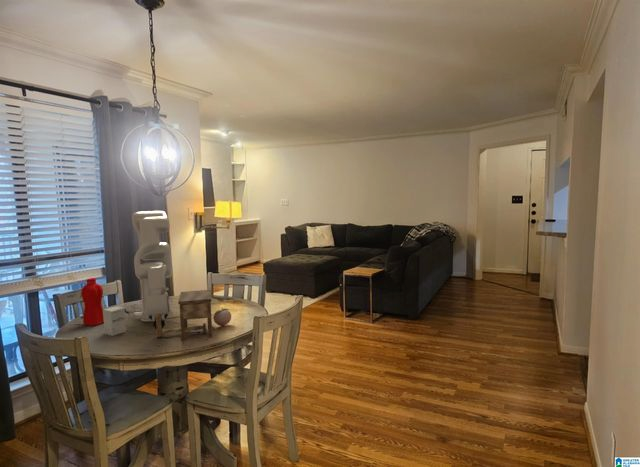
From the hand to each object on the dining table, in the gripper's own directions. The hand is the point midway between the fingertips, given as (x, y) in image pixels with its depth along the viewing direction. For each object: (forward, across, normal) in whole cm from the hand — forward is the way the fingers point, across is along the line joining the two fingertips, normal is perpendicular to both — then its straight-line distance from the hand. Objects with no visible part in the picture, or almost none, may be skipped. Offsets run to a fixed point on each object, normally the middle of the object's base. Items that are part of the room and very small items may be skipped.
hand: (159, 327), depth 193 cm
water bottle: (+5, +37, -33) cm, 50 cm away
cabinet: (+5, -18, 0) cm, 18 cm away
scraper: (+4, -10, 0) cm, 11 cm away
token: (+5, -17, 0) cm, 17 cm away
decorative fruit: (+5, -30, -5) cm, 31 cm away
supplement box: (+5, +22, -13) cm, 26 cm away
